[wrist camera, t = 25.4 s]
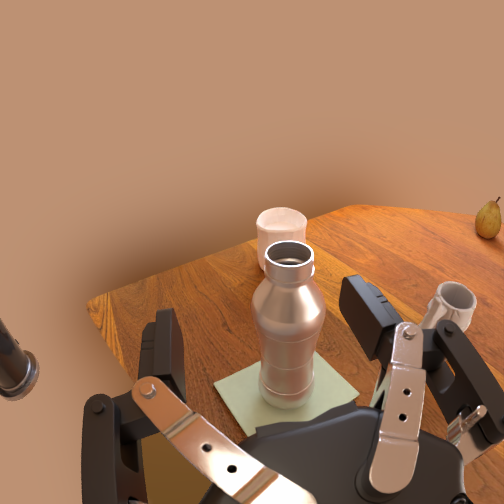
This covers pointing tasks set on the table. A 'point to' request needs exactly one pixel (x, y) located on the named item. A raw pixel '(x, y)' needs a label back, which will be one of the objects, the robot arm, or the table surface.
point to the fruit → (488, 220)
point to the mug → (450, 306)
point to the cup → (279, 229)
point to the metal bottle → (287, 324)
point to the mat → (261, 413)
